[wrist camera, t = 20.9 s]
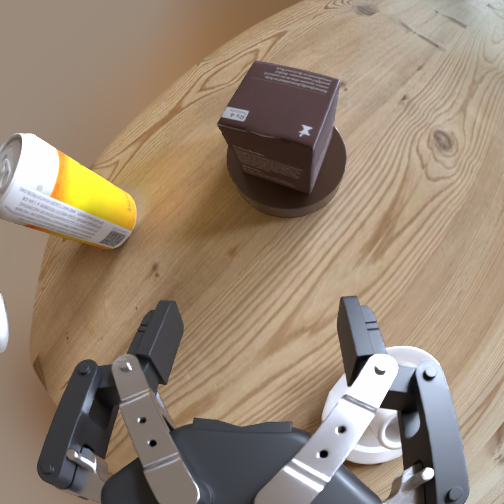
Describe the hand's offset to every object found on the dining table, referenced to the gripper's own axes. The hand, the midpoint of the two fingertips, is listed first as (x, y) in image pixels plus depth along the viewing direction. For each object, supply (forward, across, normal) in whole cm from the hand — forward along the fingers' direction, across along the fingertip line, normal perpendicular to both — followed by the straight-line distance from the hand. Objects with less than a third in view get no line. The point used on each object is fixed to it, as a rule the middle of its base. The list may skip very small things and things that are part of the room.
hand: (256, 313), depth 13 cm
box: (+13, -2, -5) cm, 14 cm away
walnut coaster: (+15, -2, -3) cm, 16 cm away
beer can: (+13, +15, 0) cm, 20 cm away
